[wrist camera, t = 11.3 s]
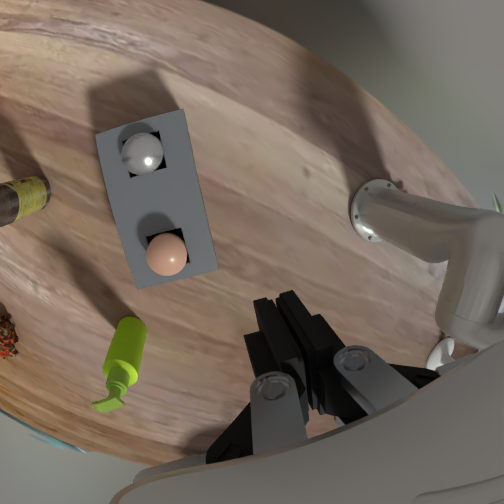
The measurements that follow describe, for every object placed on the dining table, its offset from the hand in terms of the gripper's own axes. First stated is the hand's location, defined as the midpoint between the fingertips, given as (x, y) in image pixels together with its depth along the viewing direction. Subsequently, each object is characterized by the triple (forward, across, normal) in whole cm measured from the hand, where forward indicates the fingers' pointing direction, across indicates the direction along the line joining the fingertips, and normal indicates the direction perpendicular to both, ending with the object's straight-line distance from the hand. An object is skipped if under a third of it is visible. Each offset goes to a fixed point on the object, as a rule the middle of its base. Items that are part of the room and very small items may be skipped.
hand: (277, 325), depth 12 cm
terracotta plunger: (+32, +8, +4) cm, 33 cm away
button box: (+37, +8, -3) cm, 38 cm away
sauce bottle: (+37, +31, -10) cm, 50 cm away
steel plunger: (+33, +8, -10) cm, 35 cm away
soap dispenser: (+37, +22, +20) cm, 48 cm away
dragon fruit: (+37, +54, +15) cm, 67 cm away
